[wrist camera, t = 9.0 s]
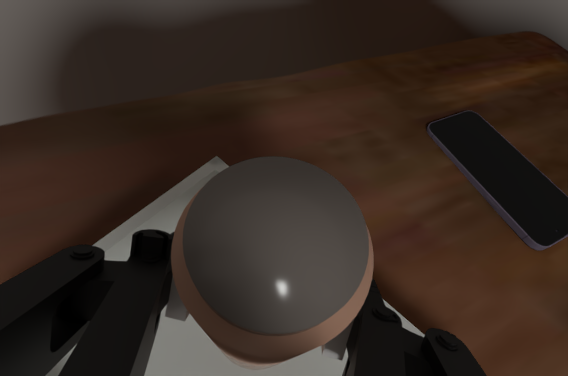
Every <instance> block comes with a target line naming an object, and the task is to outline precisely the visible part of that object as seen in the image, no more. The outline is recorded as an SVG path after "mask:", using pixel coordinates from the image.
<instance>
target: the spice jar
mask: <svg viewBox="0 0 568 376" xmlns="http://www.w3.org/2000/svg"><path fill="white" fill-rule="evenodd" d="M171 264H172V273H173V278H174V282H175V286H176V288H177V291H178V294H179V296H180V298H181V300H182V302H183V304H184V306H185V307H186V309H187V311H188V312H189V313H190V315H191V316H192V317H193V319H194V320H195V321H196V322H197V324H198V325H199V326H200V327H201V328H202V329H203V331H204V332H205V333H206V334H207V335H208V337H209V338H210V339H211V340H212V341H213V342H214V344H215V345H216V346H217V347H218V348H219V349H220V351H221V352H222V353H223V354H224V355H225V356H226V357H227V358H228V359H229V360H230V361H231V362H233V363H234V364H236V365H238V366H240V367H242V368H245V369H250V370H262V369H267V368H271V367H273V366H275V365H278V364H280V363H282V362H285V361H287V360H289V359H292V358H294V357H296V356H299V355H301V354H303V353H306V352H308V351H310V350H313V349H315V348H317V347H319V346H321V345H324V344H325V343H327V342H328V341H330V340H331V339H333V338H335V337H336V336H337V335H338V334H340V333H341V332H342V331H343V330H344V329H345V328H346V327H347V326H348V325H349V324H350V323H351V322H352V320H353V319H354V318H355V317H356V315H357V314H358V312H359V311H360V309H361V307H362V306H363V304H364V302H365V299H366V297H367V295H368V292H369V289H370V285H371V281H372V275H373V267H374V262H373V248H372V241H371V238H370V234H369V231H368V228H367V226H366V223H365V220H364V217H363V215H362V212H361V210H360V208H359V206H358V205H357V203H356V201H355V200H354V198H353V197H352V195H351V194H350V193H349V191H348V190H347V189H346V188H345V187H344V186H343V185H342V184H341V183H340V182H339V181H338V180H336V179H335V178H334V177H333V176H331V175H330V174H328V173H327V172H325V171H324V170H322V169H320V168H318V167H316V166H314V165H312V164H309V163H307V162H304V161H300V160H297V159H292V158H287V157H276V156H273V157H259V158H253V159H249V160H245V161H242V162H239V163H237V164H234V165H232V166H230V167H228V168H226V169H224V170H223V171H221V172H220V173H218V174H217V175H215V176H214V177H213V178H212V179H211V180H209V181H208V182H207V183H206V184H205V186H204V187H202V188H201V189H200V190H199V191H198V192H197V193H196V194H195V196H194V197H193V198H192V199H191V200H190V202H189V203H188V205H187V206H186V207H185V209H184V211H183V213H182V215H181V217H180V218H179V221H178V223H177V226H176V229H175V232H174V237H173V241H172V250H171Z"/></svg>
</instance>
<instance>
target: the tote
mask: <svg viewBox="0 0 568 376" xmlns="http://www.w3.org/2000/svg"><path fill="white" fill-rule="evenodd" d="M228 167H229V166H228V165H227V164H226V163H224V162H223V161H222V160H221V159H220V158H219V157H217V156H216V157H214V158H213V159H212V160H210V161H209V162H207V163H206V164H205V165H203V166H202V167H200V168H199V169H198V170H196V171H195V172H194V173H192V174H191V175H189V176H188V177H187V178H185V179H184V180H182V181H181V182H180V183H178V184H177V185H176V186H174V187H173V188H171V189H170V190H169V191H167V192H166V193H164V194H163V195H162V196H160V197H159V198H157V199H156V200H155V201H153V202H152V203H151V204H149V205H148V206H146V207H145V208H144V209H142V210H141V211H139V212H138V213H137V214H135V215H134V216H132V217H131V218H130V219H128V220H127V221H126V222H124V223H123V224H121V225H120V226H119V227H117V228H116V229H114V230H113V231H112V232H110V233H109V234H108V235H106V236H105V237H103V238H102V239H101V240H99V241H98V242H96V243H95V244H94V245H92V246H96V247H99V248H101V249H103V250H104V251H105V259H104V260H110V261H127V260H128V258H129V257H130V251H131V243H132V235H133V234H134V233H135V232H137V231H140V230H146V229H155V230H161V231H164V232H167V233H169V234H171V233H172V232H175V229H176V226H177V223H178V221H179V218H180V217H181V215H182V213H183V211H184V209H185V207H186V206H187V205H188V203H189V202H190V200H191V199H192V198H193V197H194V196H195V194H196V193H197V192H198V191H199V190H200V189H201V188H202V187H204V186H205V184H206V183H207V182H208V181H209V180H211V179H212V178H213V177H214V176H215V175H217V174H218V173H220V172H221V171H223V170H224V169H226V168H228ZM383 301H384V304H385V306H386V307H388V308H390V309H391V310H393V311H394V312H395V313H397V315H398V316H399V317H400V318H401V321H402V327H403V328H405V329H407V330H409V331H411V332H413V333H415V334H418V335H420V336H422V337H424V336H425V335H424V334H423V333H422V332H420V331H419V330H418V329H417V328H416V327H415V326H414V325H412V324H411V323H410V322H409V321H408V320H407V319H405V318H404V317H403V316H402V315H401V314H400V313H398V312H397V311H396V310H395V309H394V308H393V307H391V306H390V305H389V304H388V303H387V302H386V301H385V300H383ZM166 307H167V305H166V306H165V307H164V308H163V310H162V311H161V316H160V322H159V326H158V329H157V333H156V336H155V340H154V343H153V347H152V350H151V354H150V357H149V361H148V364H147V368H146V371H145V375H144V376H342V374H343V371H344V368H345V365H346V362H347V359H348V352H347V348H346V351H345V354H344V357H343V360H338V359H334V358H330V357H326V356H322V348H321V346H319V347H317V348H315V349H313V350H310V351H308V352H306V353H303V354H301V355H299V356H296V357H294V358H292V359H289V360H287V361H285V362H282V363H280V364H278V365H275V366H273V367H271V368H267V369H262V370H250V369H245V368H242V367H240V366H238V365H236V364H234V363H233V362H231V361H230V360H229V359H228V358H227V357H226V356H225V355H224V354H223V353H222V352H221V351H220V349H219V348H218V347H217V346H216V345H215V344H214V342H213V341H212V340H211V339H210V338H209V337H208V335H207V334H206V333H205V332H204V331H203V329H202V328H201V327H200V326H199V325H198V324H197V322H196V321H195V320H194V319H193V317H192V316H191V315H190V314H189V316H188V317H187V319H186V321H180V320H176V319H172V318H168V317H165V313H166ZM76 345H77V344H76ZM76 345H75V346H76ZM75 346H74V347H73V348H72V349H71V350H70V351H69V352H68V353H67V354H66V355H65V356H64V357H63V358H62V359H61V360H60V361H59V362H58V363H57V364H56V366H55V367H54V368H53V369H52V370H51V371H50V372H49V373H48V374H47V375H46V376H58V375H59V373H60V371H61V370H62V368H63V366H64V365H65V363H66V361H67V360H68V358H69V356H70V355H71V353H72V351H73V350H74V348H75Z"/></svg>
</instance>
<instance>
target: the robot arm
mask: <svg viewBox="0 0 568 376" xmlns="http://www.w3.org/2000/svg"><path fill="white" fill-rule="evenodd" d="M173 237H174V232H172V233H171V234H169V233H167V232H164V231H161V230H155V229H146V230H140V231H137V232H135V233H134V234H133V235H132V243H131V251H130V257H129V258H128V260H127V261H110V260H104V259H105V251H104V250H103V249H101V248H99V247H96V246H90V245H77V246H72V247H69V248H66V249H63V250H62V251H60V252H58V253H56V254H54V255H53V256H51V257H49V258H47V259H45V260H44V261H42V262H40V263H38V264H36V265H35V266H33V267H31V268H29V269H27V270H26V271H24V272H22V273H20V274H18V275H17V276H15V277H13V278H11V279H10V280H8V281H6V282H4V283H2V284H1V285H0V376H46V375H47V374H48V373H49V372H50V371H51V370H52V369H53V368H54V367H55V366H56V364H57V363H58V362H59V361H60V360H61V359H62V358H63V357H64V356H65V355H66V354H67V353H68V352H69V351H70V350H71V349H72V348H73V347H74V346H75V345H76V344H77V345H76V346H75V348H74V350H73V351H72V353H71V355H70V356H69V358H68V360H67V361H66V363H65V365H64V366H63V368H62V370H61V371H60V373H59V375H58V376H144V375H145V371H146V368H147V364H148V361H149V357H150V354H151V350H152V347H153V343H154V340H155V336H156V333H157V329H158V326H159V322H160V316H161V311H162V310H163V308H164V307H165V306H166V305H167V307H166V313H165V317H168V318H172V319H176V320H180V321H186V319H187V317H188V316H189V314H190V313H189V312H188V311H187V309H186V307H185V306H184V304H183V302H182V300H181V298H180V296H179V294H178V291H177V288H176V286H175V282H174V278H173V273H172V264H171V250H172V241H173ZM321 348H322V356H326V357H330V358H334V359H338V360H343V357H344V354H345V351H346V348H347V352H348V359H347V362H346V365H345V368H344V371H343V374H342V376H486V374H485V373H484V371H483V370H482V368H481V367H480V365H479V364H478V362H477V361H476V359H475V358H474V357H473V355H472V354H471V352H470V351H469V349H468V348H467V347H466V345H465V344H464V343H463V342H462V341H461V340H459V339H458V338H457V337H456V336H455V335H453V334H450V333H449V332H447V331H443V330H441V329H436V328H431V329H428V330H427V331H426V334H425V336H424V337H422V336H420V335H418V334H415V333H413V332H411V331H409V330H407V329H405V328H403V327H402V321H401V318H400V317H399V316H398V315H397V313H395V312H394V311H393V310H391V309H390V308H388V307H386V306H385V304H384V301H383V299H382V297H381V294H380V292H379V289H378V288H377V285H376V282H375V280H374V279H373V278H372V281H371V285H370V289H369V292H368V295H367V297H366V299H365V302H364V304H363V306H362V307H361V309H360V311H359V312H358V314H357V315H356V317H355V318H354V319H353V320H352V322H351V323H350V324H349V325H348V326H347V327H346V328H345V329H344V330H343V331H342V332H341V333H340V334H338V335H337V336H336V337H335V338H333V339H331V340H330V341H328V342H327V343H325V344H324V345H321Z"/></svg>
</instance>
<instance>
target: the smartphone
mask: <svg viewBox="0 0 568 376" xmlns="http://www.w3.org/2000/svg"><path fill="white" fill-rule="evenodd" d="M427 132H428V134H429V135H430V137H431V138H432V139H433V140H434V141H435V142H436V143H437V145H438V146H439V147H440V148H441V149H442V150H443V151H444V153H445V154H446V155H447V156H448V157H449V158H450V159H451V161H452V162H453V163H454V164H455V165H456V166H457V167H458V168H459V170H460V171H461V172H462V173H463V174H464V175H465V176H466V178H467V179H468V180H469V181H470V182H471V183H472V184H473V186H474V187H475V188H476V189H477V190H478V191H479V192H480V194H481V195H482V196H483V197H484V198H485V199H486V200H487V201H488V203H489V204H490V205H491V206H492V207H493V208H494V209H495V211H496V212H497V213H498V214H499V215H500V216H501V217H502V218H503V219H504V221H505V222H506V223H507V224H508V225H509V226H510V227H511V228H512V229H513V230H514V231H515V232H516V234H517V235H518V236H519V237H520V238H521V239H522V240H523V241H524V242H525V243H526V244H527V245H528V246H530V247H531V248H533V249H535V250H544V249H546V248H548V247H550V246H552V245H554V244H556V243H557V242H559V241H561V240H562V239H564V238H565V237H567V236H568V196H567V195H565V194H564V193H563V192H562V191H561V190H560V189H559V188H558V187H557V186H556V185H555V184H554V183H553V182H551V181H550V180H549V179H548V178H547V177H546V176H545V175H544V174H543V173H542V172H541V171H540V170H538V169H537V168H536V167H535V166H534V165H533V164H532V163H531V162H530V161H529V160H528V159H527V158H526V157H524V156H523V155H522V154H521V153H520V152H519V151H518V150H517V149H516V148H515V147H514V146H513V145H512V144H510V143H509V142H508V141H507V140H506V139H505V138H504V137H503V136H502V135H501V134H500V133H499V132H497V131H496V130H495V129H494V128H493V127H492V126H491V125H490V124H489V123H488V122H487V121H486V120H485V119H483V118H482V117H481V116H480V115H479V114H478V113H476V112H473V111H464V112H461V113H458V114H455V115H452V116H449V117H446V118H443V119H440V120H437V121H434V122H432V123H430V124H429V125H428V127H427Z"/></svg>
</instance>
